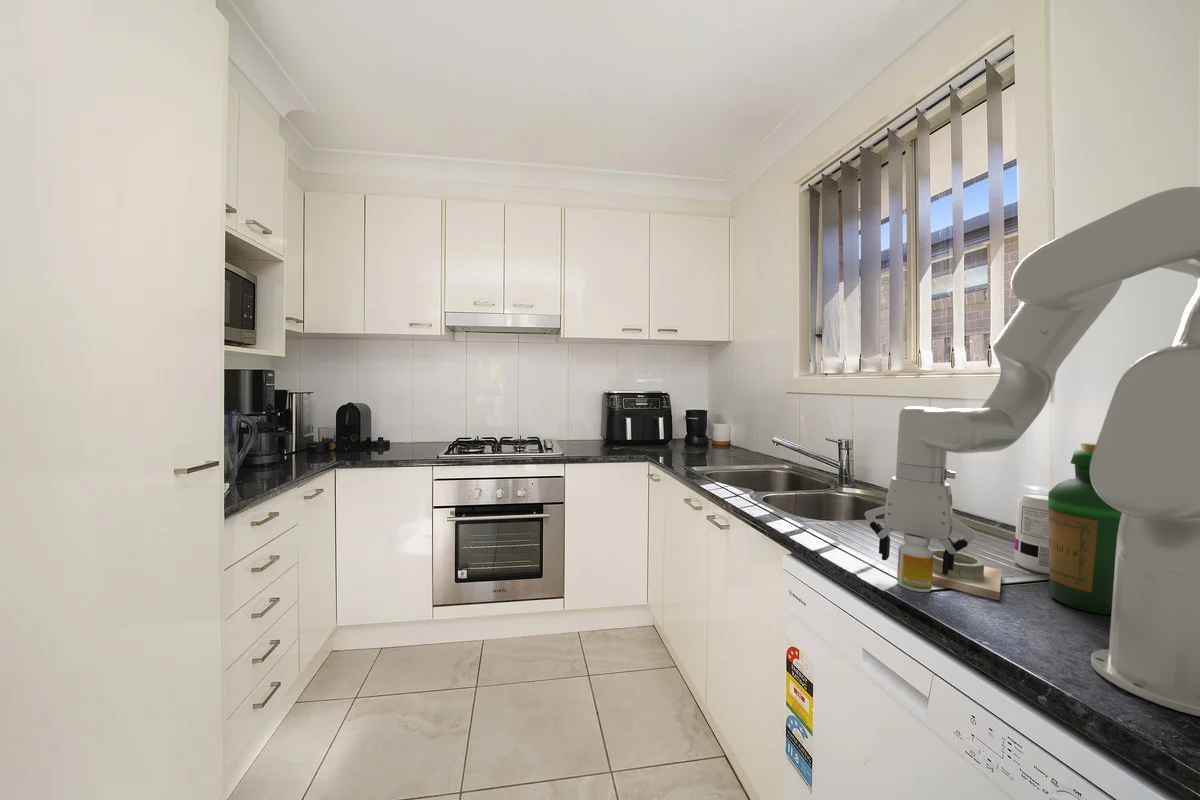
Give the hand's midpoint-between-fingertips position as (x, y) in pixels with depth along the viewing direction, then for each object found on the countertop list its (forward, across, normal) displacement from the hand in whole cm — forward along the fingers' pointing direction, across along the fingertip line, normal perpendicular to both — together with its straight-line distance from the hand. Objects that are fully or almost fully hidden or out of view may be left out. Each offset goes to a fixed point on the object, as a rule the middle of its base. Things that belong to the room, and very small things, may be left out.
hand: (914, 565), depth 87 cm
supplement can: (+4, -18, -31) cm, 36 cm away
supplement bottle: (+4, 0, 0) cm, 4 cm away
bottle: (+4, -23, -13) cm, 27 cm away
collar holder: (+4, -5, -11) cm, 13 cm away
